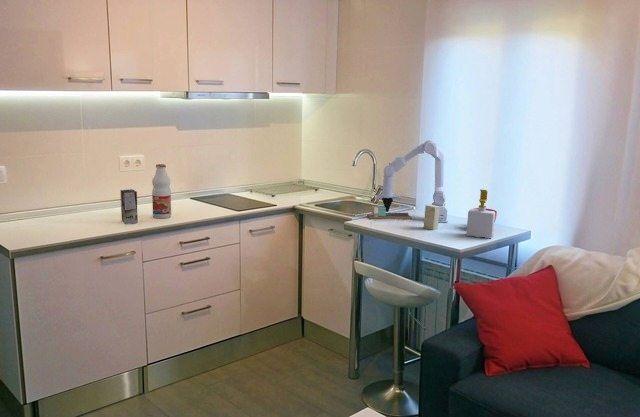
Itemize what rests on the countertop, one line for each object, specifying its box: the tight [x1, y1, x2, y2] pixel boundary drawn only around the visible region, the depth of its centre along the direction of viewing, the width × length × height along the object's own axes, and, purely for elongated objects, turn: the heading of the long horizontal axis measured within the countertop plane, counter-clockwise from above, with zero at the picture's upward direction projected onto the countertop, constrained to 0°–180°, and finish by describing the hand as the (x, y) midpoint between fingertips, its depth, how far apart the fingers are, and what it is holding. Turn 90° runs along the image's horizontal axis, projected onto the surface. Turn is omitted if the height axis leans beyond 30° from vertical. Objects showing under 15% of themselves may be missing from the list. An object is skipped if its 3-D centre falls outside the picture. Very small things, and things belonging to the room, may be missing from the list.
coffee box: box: [120, 188, 139, 225], centre depth 295 cm, size 9×6×16 cm
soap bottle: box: [465, 189, 496, 239], centre depth 286 cm, size 12×7×23 cm, turn 66°
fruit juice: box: [151, 163, 172, 220], centre depth 307 cm, size 9×9×28 cm
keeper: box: [375, 205, 387, 216], centre depth 324 cm, size 5×4×5 cm
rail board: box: [366, 205, 413, 220], centre depth 325 cm, size 9×24×6 cm, turn 100°
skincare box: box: [423, 204, 440, 231], centre depth 300 cm, size 6×4×12 cm
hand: (386, 211), depth 325 cm, fingers closed
